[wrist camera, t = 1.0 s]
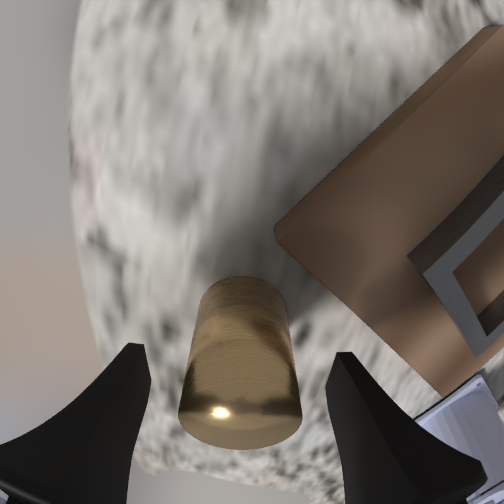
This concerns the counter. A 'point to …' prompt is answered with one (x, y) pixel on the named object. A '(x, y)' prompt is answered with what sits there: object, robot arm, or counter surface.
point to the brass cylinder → (241, 368)
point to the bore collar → (456, 251)
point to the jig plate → (412, 213)
